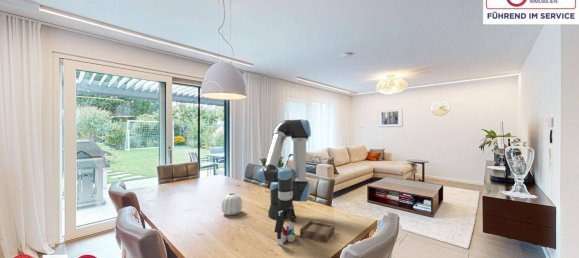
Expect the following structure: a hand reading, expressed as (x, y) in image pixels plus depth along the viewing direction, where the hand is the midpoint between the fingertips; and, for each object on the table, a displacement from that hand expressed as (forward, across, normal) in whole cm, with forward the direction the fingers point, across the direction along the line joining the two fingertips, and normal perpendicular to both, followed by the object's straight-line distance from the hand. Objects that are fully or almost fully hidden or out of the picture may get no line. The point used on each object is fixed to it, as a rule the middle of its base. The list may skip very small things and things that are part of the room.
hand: (286, 239), depth 124 cm
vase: (0, +18, +52) cm, 55 cm away
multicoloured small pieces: (0, 0, 0) cm, 1 cm away
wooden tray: (0, +12, -13) cm, 18 cm away
